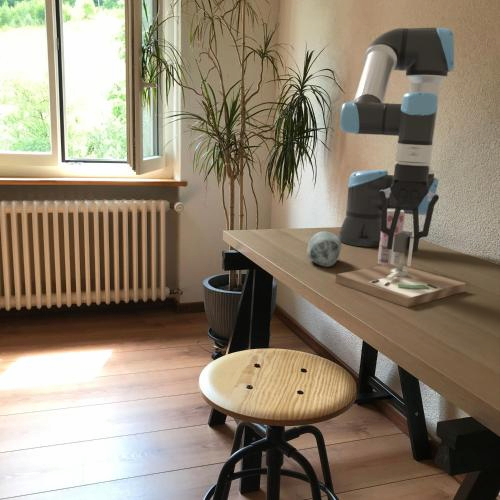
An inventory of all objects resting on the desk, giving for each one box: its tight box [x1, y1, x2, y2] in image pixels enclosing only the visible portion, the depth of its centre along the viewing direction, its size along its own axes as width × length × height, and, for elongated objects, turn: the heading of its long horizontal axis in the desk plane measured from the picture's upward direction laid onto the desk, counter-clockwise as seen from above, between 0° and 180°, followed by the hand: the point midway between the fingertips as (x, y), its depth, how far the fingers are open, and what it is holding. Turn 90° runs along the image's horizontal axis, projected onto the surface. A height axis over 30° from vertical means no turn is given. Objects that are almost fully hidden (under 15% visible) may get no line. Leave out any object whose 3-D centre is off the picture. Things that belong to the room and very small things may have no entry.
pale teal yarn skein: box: [306, 231, 342, 268], centre depth 140 cm, size 14×10×10 cm
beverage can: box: [377, 209, 406, 266], centre depth 140 cm, size 6×6×15 cm
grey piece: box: [387, 230, 414, 280], centre depth 121 cm, size 11×4×10 cm, turn 147°
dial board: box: [335, 263, 467, 308], centre depth 121 cm, size 22×20×2 cm
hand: (400, 263), depth 123 cm, fingers closed on grey piece, 3 cm apart
